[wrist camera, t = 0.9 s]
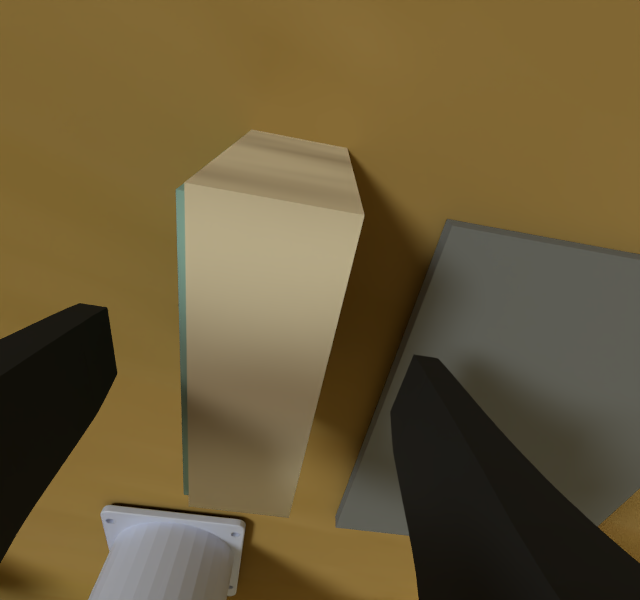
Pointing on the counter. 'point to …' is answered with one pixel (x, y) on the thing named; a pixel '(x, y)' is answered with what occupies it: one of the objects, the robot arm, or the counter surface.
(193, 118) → the counter surface
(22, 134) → the counter surface
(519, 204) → the counter surface
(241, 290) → the tile
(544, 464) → the mat
